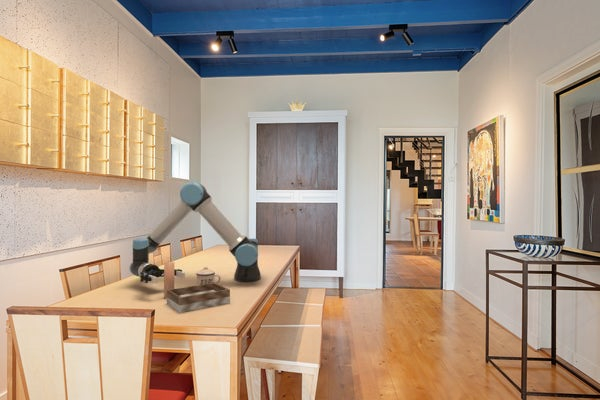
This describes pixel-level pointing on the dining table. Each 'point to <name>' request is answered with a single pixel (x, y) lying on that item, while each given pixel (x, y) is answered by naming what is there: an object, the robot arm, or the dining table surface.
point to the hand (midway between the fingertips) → (170, 277)
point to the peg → (168, 277)
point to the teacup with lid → (206, 276)
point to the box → (197, 297)
